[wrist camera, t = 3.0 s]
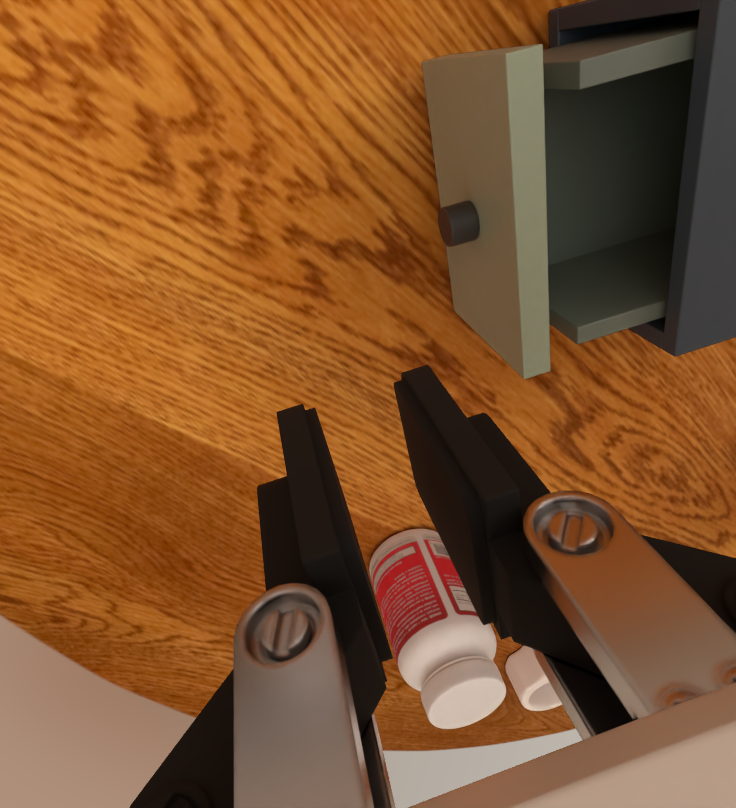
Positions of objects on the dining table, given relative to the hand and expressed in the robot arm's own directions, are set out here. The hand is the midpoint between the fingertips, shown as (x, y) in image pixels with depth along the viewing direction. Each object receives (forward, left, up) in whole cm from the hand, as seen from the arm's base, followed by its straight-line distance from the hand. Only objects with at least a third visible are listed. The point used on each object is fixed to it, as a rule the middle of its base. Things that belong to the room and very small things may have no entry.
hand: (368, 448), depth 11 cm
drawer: (-14, 0, -16) cm, 21 cm away
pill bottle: (-2, +24, -17) cm, 30 cm away
